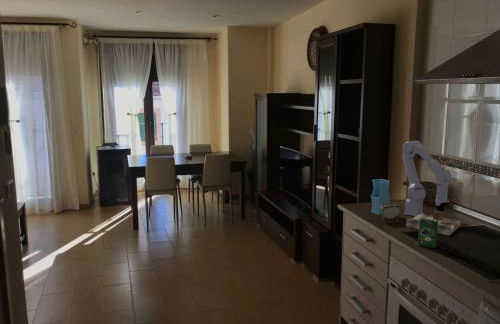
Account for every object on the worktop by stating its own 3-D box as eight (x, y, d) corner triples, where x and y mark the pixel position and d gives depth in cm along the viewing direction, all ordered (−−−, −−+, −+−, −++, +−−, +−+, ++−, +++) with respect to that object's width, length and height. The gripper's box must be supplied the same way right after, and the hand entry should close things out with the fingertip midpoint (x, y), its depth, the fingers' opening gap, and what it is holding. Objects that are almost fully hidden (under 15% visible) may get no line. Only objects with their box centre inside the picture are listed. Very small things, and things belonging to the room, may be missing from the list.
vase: (370, 211, 256) (371, 179, 253) (380, 210, 259) (382, 178, 256) (378, 215, 249) (380, 182, 246) (389, 213, 252) (391, 181, 249)
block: (433, 218, 233) (433, 211, 233) (435, 217, 237) (435, 210, 236) (440, 220, 231) (441, 213, 230) (442, 218, 234) (443, 211, 233)
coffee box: (436, 246, 198) (438, 219, 196) (436, 248, 195) (438, 221, 193) (417, 244, 201) (419, 217, 199) (417, 246, 198) (419, 219, 196)
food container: (392, 218, 243) (393, 201, 241) (399, 221, 237) (400, 204, 235) (374, 220, 238) (375, 203, 237) (381, 223, 233) (382, 206, 231)
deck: (406, 226, 227) (406, 218, 226) (419, 217, 244) (420, 210, 243) (449, 235, 213) (450, 227, 212) (460, 225, 230) (461, 217, 229)
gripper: (446, 195, 226) (444, 219, 229) (453, 190, 237) (451, 213, 240) (432, 193, 231) (430, 217, 233) (440, 188, 242) (438, 211, 244)
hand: (440, 215), depth 237 cm, fingers closed
